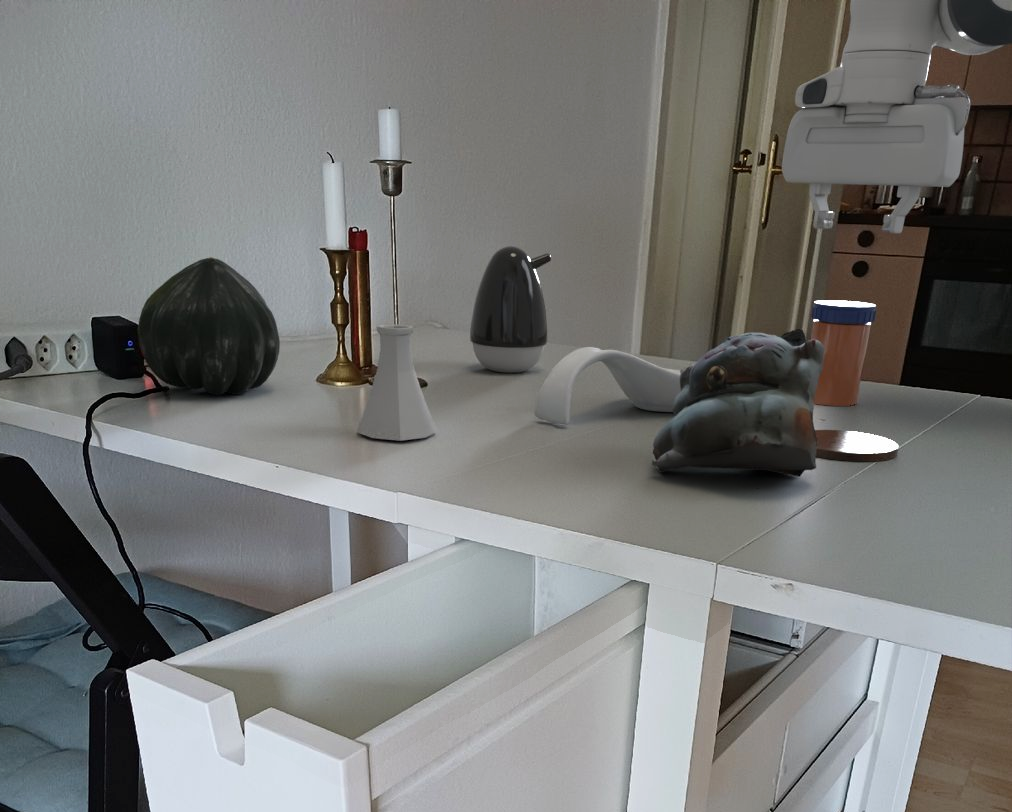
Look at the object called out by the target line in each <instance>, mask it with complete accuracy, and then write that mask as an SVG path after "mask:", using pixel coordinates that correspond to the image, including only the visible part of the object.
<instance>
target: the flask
mask: <svg viewBox="0 0 1012 812" xmlns="http://www.w3.org/2000/svg"><path fill="white" fill-rule="evenodd" d="M376 332H377V334H379V338H380V339H379V340H380V342H379V343H380V348H379V349H380V350H379V357H378V362H377V369H376V373H375V376H374V379H373V382H372V385H371V388H370V392H369V395H368V399H367V401H366V404H365V406H364V410H363V412H362V416H361V418H360V422H359V424H358V427H357V430H356V433H358V434H361V435H364V436H365V437H369V438H371V439H377V440H378V439H379V440H389V441H397V442H399V441H400V442H401V441H408V440H417V439H424V438H428V437H430V436H431V435H433V434H435V433H436V432H437V429H436V425H435V423H434V421H433V417H432V415H431V413H430V410H429V407H428V405H427V402H426V400H425V396H424V394H423V391H422V387H421V384H420V383H419V379H418V377H417V373H416V371H415V366H414V360H413V356H412V349H411V335H412V334H413V333H414V326H412V325H407V324H398V323H397V324H396V323H391V324H381V325H377V326H376Z"/></svg>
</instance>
